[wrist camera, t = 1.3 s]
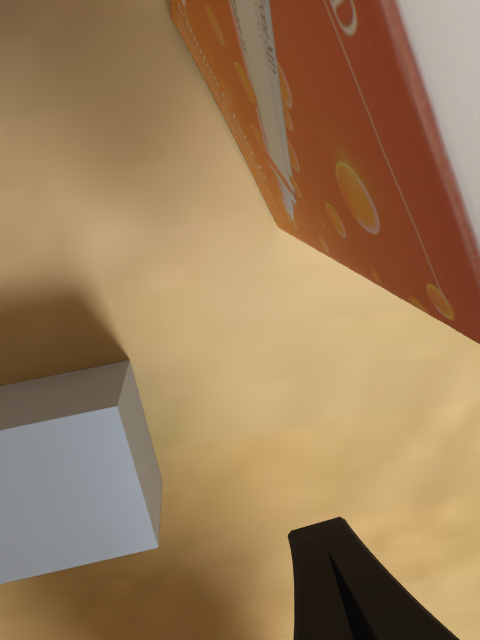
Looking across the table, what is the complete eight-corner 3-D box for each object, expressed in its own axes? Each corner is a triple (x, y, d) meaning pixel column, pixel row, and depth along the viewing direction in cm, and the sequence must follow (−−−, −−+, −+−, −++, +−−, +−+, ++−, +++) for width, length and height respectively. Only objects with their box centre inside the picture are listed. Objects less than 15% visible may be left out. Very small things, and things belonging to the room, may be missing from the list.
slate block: (162, 477, 20) (158, 547, 16) (5, 512, 20) (-36, 592, 16) (130, 357, 18) (117, 406, 14) (-46, 393, 18) (-106, 452, 14)
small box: (166, 16, 15) (96, -850, 2) (337, -86, 14) (1316, -1695, 2) (277, 235, 17) (521, 385, 5) (423, 152, 17) (1066, 93, 5)
